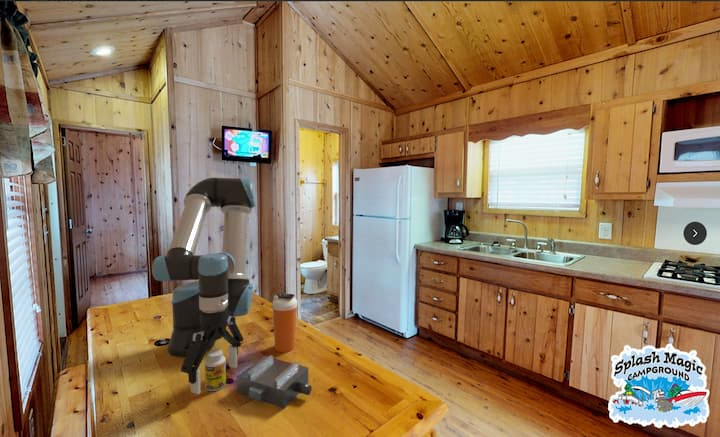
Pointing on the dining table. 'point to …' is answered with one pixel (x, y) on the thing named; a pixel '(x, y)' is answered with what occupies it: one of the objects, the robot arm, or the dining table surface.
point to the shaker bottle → (284, 321)
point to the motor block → (274, 381)
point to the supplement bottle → (215, 370)
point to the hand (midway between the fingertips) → (215, 378)
